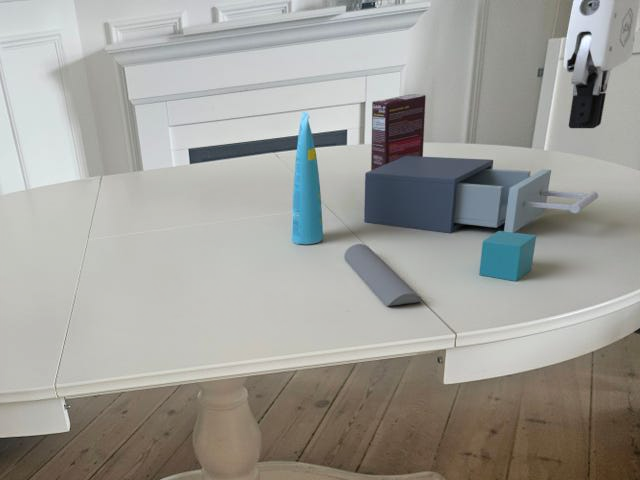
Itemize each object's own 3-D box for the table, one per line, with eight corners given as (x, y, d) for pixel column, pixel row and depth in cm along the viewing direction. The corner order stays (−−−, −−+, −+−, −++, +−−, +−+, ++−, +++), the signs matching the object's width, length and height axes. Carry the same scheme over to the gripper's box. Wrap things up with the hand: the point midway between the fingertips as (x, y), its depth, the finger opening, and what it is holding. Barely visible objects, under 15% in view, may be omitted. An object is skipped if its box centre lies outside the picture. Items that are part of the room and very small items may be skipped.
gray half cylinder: (372, 253, 91) (372, 242, 91) (425, 305, 74) (426, 291, 73) (342, 257, 92) (342, 245, 91) (388, 310, 74) (389, 296, 73)
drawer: (599, 217, 90) (607, 172, 87) (568, 240, 84) (577, 193, 81) (456, 203, 104) (459, 164, 102) (421, 222, 98) (424, 181, 95)
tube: (327, 245, 97) (327, 113, 88) (296, 249, 97) (292, 118, 88) (317, 231, 104) (316, 107, 95) (288, 235, 104) (283, 112, 95)
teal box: (531, 269, 79) (536, 235, 77) (516, 281, 77) (521, 246, 75) (494, 264, 82) (498, 230, 80) (478, 275, 80) (482, 240, 78)
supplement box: (406, 178, 126) (410, 93, 119) (422, 182, 122) (427, 94, 115) (368, 186, 124) (370, 100, 117) (383, 191, 120) (386, 102, 113)
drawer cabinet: (487, 211, 102) (493, 159, 98) (450, 233, 95) (455, 178, 91) (403, 202, 112) (405, 155, 108) (364, 222, 105) (365, 172, 101)
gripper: (626, -38, 67) (596, 139, 76) (668, -46, 76) (636, 115, 84) (549, -27, 73) (529, 138, 81) (596, -35, 81) (573, 116, 89)
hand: (584, 126), depth 83 cm, fingers closed
